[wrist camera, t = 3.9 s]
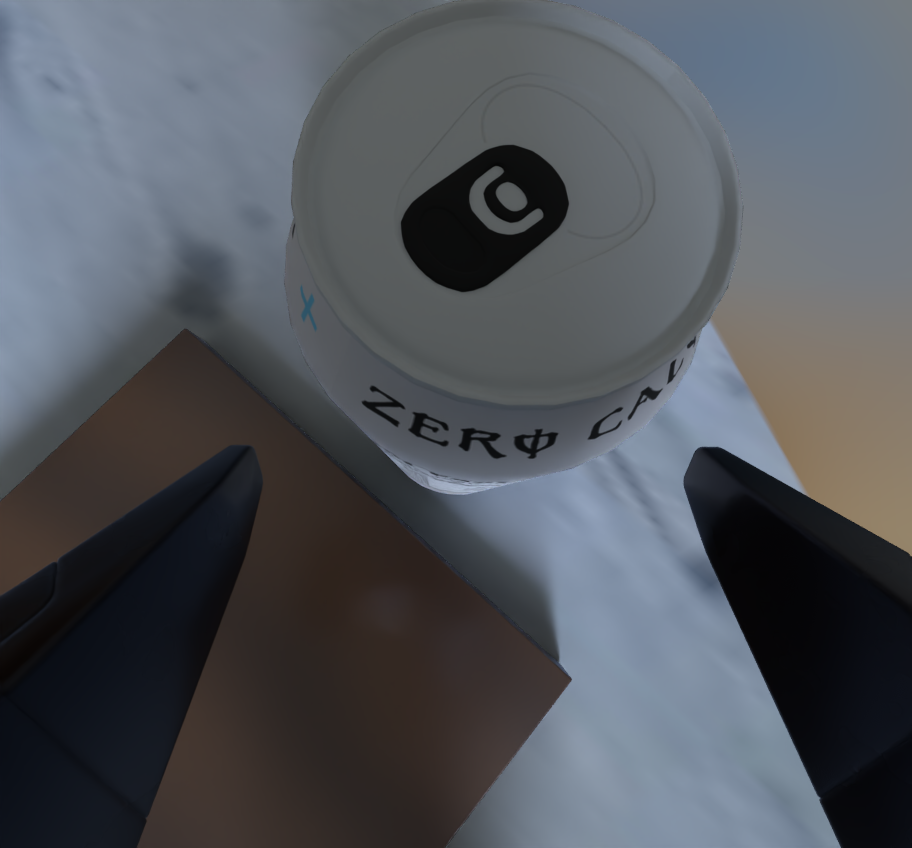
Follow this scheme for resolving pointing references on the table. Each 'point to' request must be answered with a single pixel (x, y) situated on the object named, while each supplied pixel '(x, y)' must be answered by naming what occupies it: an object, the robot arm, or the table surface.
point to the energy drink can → (507, 238)
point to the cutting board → (299, 631)
